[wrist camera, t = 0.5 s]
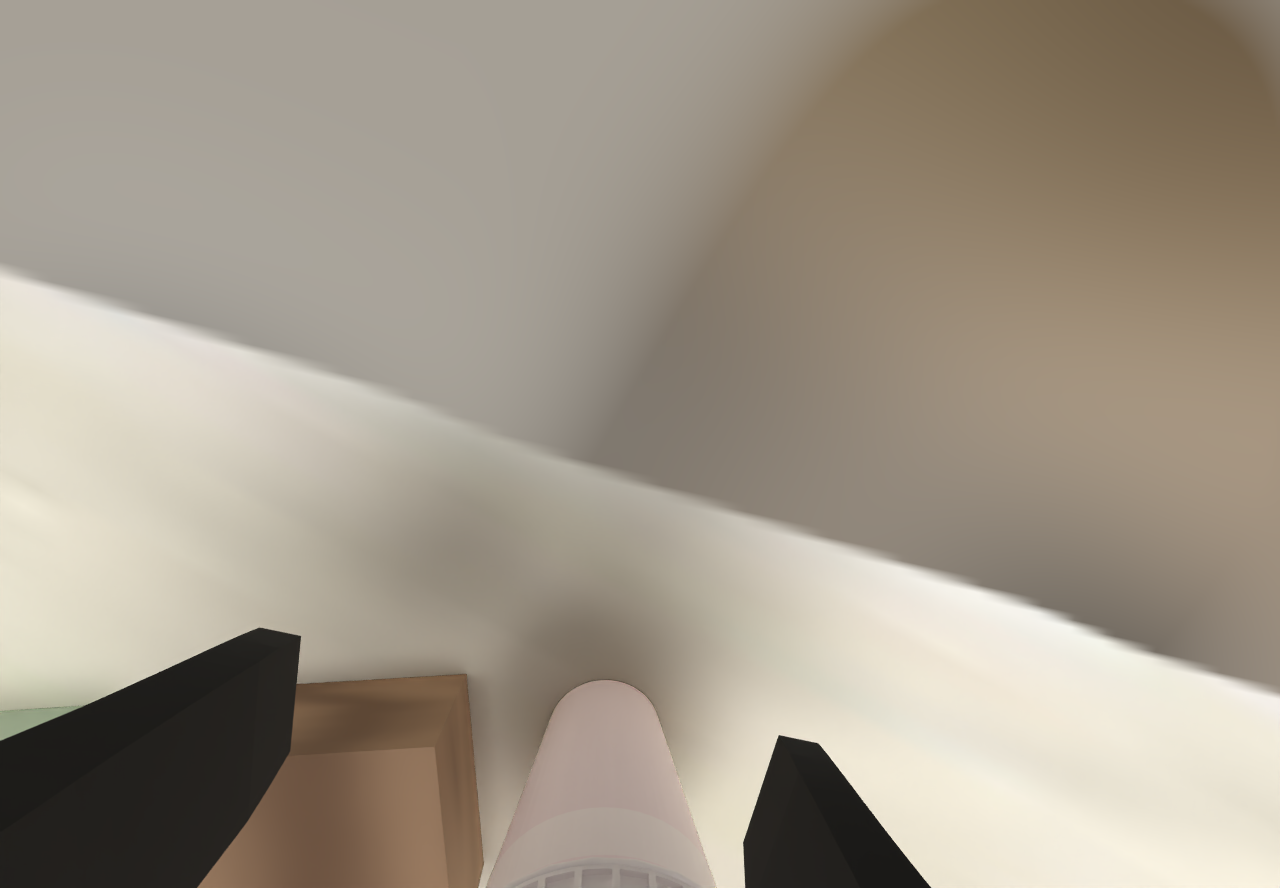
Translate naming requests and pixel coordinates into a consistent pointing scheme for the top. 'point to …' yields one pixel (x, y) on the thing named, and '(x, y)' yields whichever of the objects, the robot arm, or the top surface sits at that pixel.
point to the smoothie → (602, 802)
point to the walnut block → (367, 793)
